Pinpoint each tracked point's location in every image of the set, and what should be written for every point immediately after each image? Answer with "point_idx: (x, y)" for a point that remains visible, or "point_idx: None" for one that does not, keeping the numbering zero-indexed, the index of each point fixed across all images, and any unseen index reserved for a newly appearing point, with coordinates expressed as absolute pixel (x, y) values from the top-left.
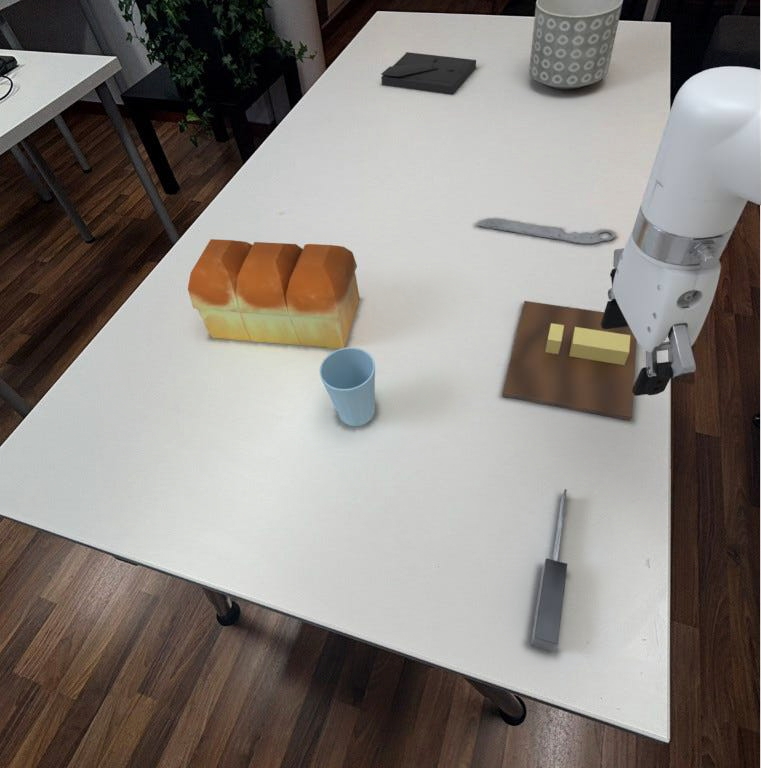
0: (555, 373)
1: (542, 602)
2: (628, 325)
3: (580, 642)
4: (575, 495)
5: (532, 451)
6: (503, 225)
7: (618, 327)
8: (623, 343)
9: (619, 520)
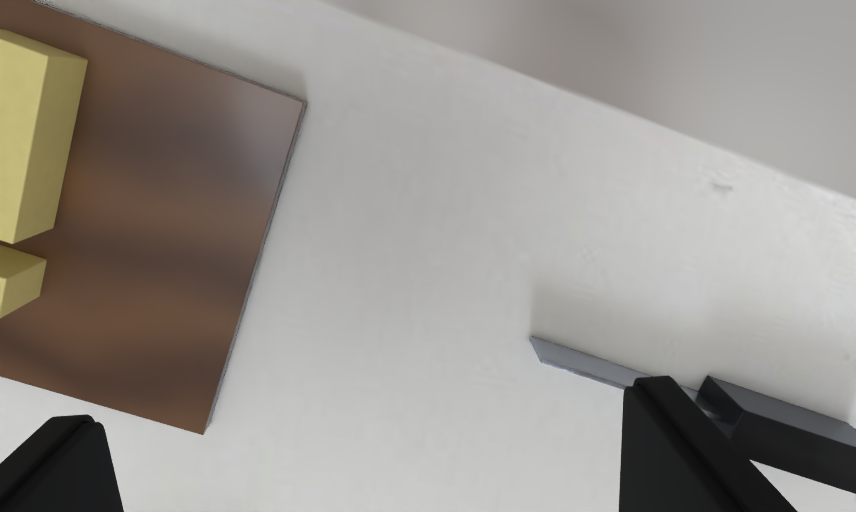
0: (129, 284)
1: (812, 474)
2: (98, 423)
3: (843, 369)
4: (526, 306)
5: (391, 380)
6: None
7: (115, 478)
8: (2, 63)
9: (607, 221)
